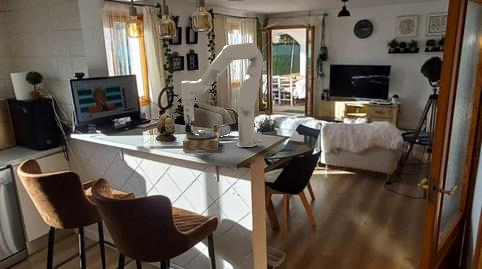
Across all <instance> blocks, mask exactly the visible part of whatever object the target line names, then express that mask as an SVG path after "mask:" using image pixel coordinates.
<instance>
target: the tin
mask: <svg viewBox="0 0 482 269" xmlns="http://www.w3.org/2000/svg"><path fill="white" fill-rule="evenodd" d="M231 130H232V129H231V126H230V125H229V124H226V123H224V124H223V123H222V124H219V125H216V126H215V127H214V129H213V131H214V132H216V133H219V137H221V136H224V135H227V134H229V135H231Z"/></svg>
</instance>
